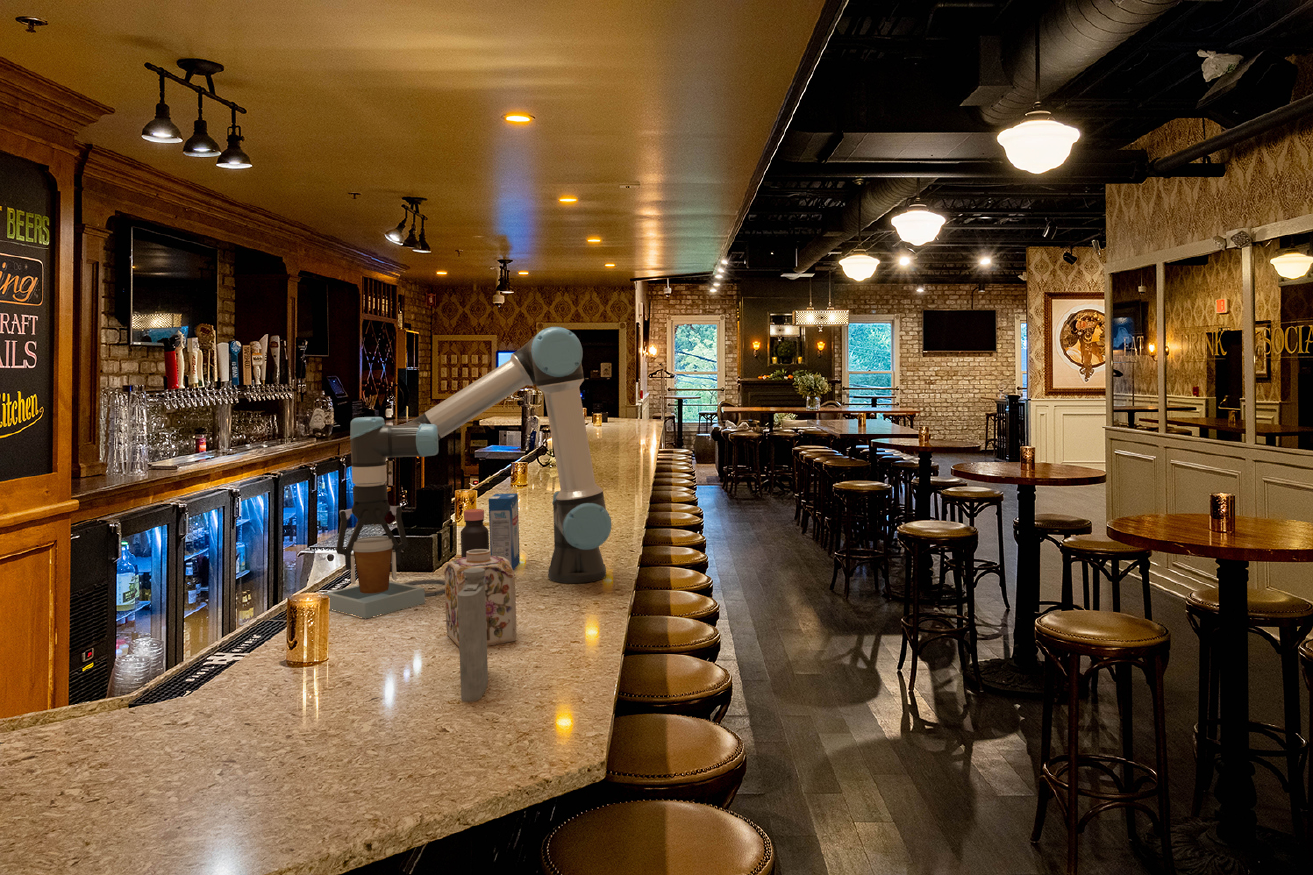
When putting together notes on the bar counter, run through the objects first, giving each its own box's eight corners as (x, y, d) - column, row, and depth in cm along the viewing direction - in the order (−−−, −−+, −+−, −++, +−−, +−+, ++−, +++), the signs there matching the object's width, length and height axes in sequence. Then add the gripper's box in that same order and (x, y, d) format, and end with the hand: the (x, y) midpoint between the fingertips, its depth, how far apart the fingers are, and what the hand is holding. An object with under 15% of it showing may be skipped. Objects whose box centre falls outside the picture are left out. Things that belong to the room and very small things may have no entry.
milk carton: (513, 570, 230) (511, 498, 229) (490, 571, 230) (488, 498, 229) (519, 562, 240) (517, 493, 239) (498, 563, 240) (495, 493, 239)
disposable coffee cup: (398, 592, 194) (396, 541, 193) (354, 597, 190) (352, 544, 189) (392, 583, 203) (391, 534, 202) (350, 588, 199) (348, 537, 198)
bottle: (457, 592, 208) (454, 511, 206) (472, 585, 214) (470, 507, 213) (480, 594, 205) (477, 513, 204) (495, 587, 212) (493, 508, 210)
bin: (424, 603, 198) (424, 587, 198) (365, 619, 186) (364, 603, 185) (383, 593, 208) (382, 579, 208) (324, 608, 195) (323, 593, 195)
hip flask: (468, 669, 152) (464, 559, 151) (491, 667, 153) (488, 558, 151) (460, 702, 137) (455, 580, 135) (485, 700, 137) (481, 579, 136)
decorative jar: (459, 651, 163) (456, 559, 161) (445, 635, 173) (441, 548, 172) (519, 641, 168) (516, 552, 167) (501, 626, 178) (498, 542, 177)
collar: (464, 587, 213) (464, 584, 213) (417, 600, 201) (417, 596, 201) (427, 579, 222) (427, 576, 221) (380, 591, 210) (380, 588, 210)
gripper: (414, 479, 202) (418, 572, 204) (320, 485, 194) (324, 582, 196) (419, 482, 195) (423, 578, 197) (321, 488, 187) (325, 589, 189)
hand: (374, 580), depth 196 cm, fingers closed on disposable coffee cup, 8 cm apart
